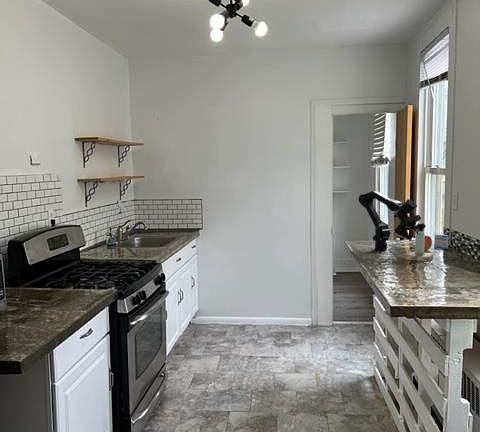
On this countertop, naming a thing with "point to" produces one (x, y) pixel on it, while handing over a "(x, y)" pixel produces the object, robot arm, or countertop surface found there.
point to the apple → (427, 243)
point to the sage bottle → (419, 243)
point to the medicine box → (441, 241)
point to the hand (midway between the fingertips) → (417, 240)
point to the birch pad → (419, 256)
